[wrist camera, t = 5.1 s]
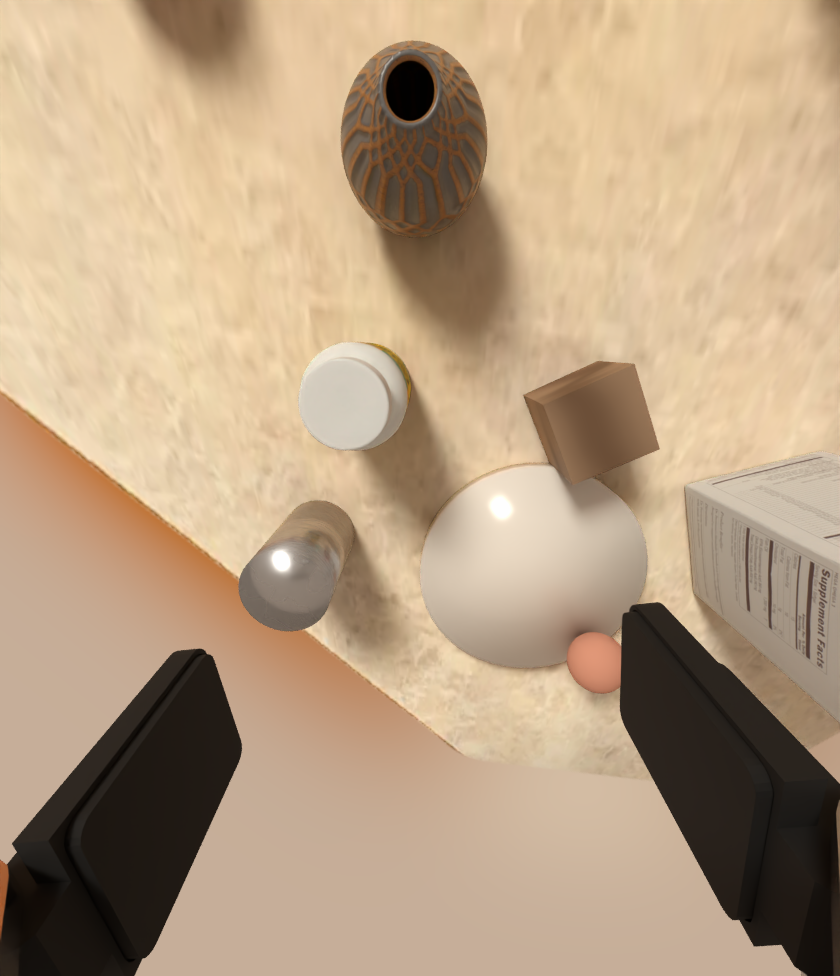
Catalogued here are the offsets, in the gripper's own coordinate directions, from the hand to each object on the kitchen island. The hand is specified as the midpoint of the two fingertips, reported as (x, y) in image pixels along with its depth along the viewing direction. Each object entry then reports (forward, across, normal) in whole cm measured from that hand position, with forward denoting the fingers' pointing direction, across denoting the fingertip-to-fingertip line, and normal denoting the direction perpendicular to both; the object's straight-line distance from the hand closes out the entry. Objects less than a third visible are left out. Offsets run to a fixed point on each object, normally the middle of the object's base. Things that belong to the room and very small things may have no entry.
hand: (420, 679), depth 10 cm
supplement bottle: (+20, +3, -5) cm, 21 cm away
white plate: (+20, -7, +9) cm, 23 cm away
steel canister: (+20, +8, +4) cm, 22 cm away
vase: (+20, -2, -16) cm, 26 cm away
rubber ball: (+19, -10, +15) cm, 26 cm away
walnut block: (+20, -10, -2) cm, 23 cm away
